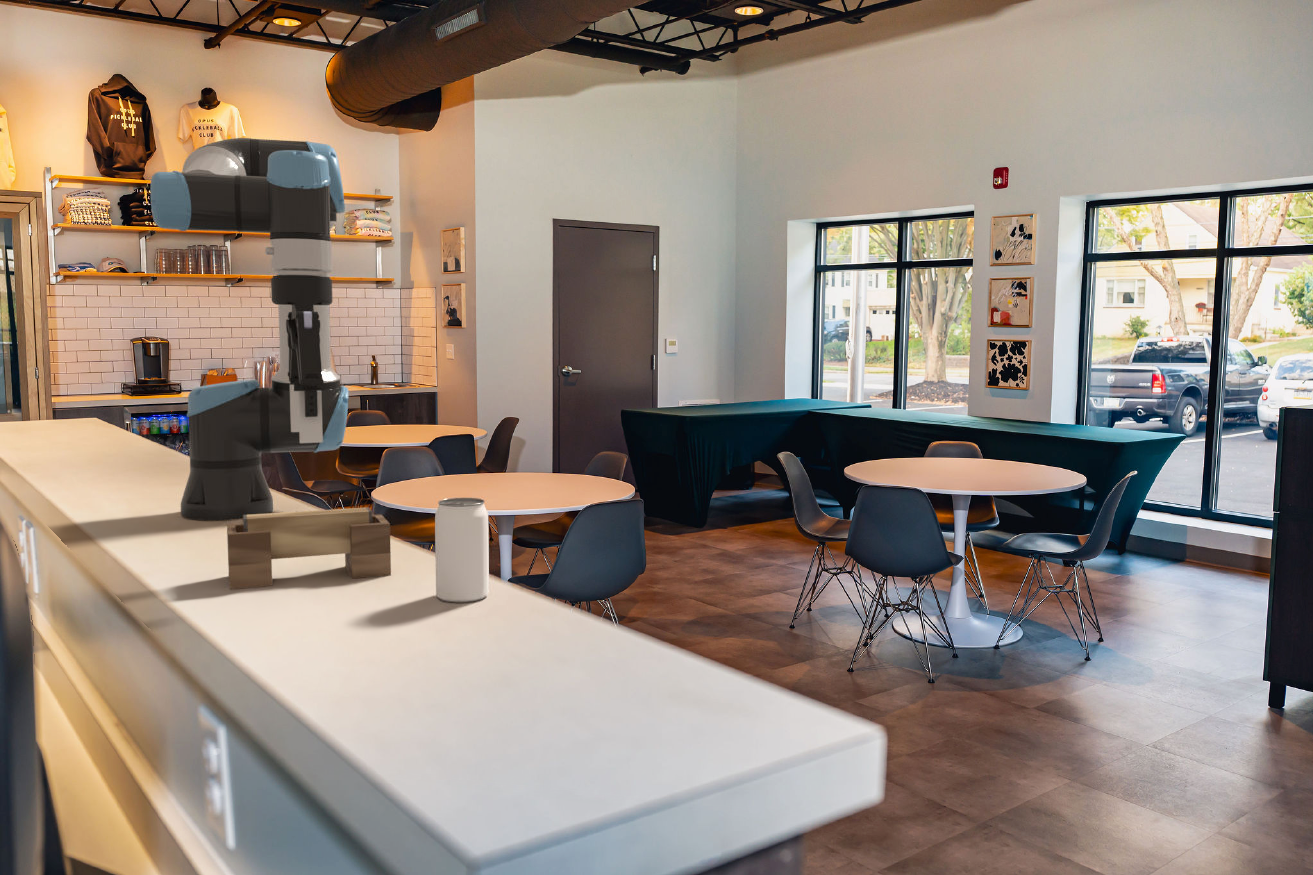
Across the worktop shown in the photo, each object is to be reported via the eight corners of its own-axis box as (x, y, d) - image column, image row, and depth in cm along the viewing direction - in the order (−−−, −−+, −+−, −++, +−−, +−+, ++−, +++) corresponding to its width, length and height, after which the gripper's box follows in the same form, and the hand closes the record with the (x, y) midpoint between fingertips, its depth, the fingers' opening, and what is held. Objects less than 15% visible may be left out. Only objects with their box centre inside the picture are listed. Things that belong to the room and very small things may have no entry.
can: (477, 605, 123) (476, 506, 122) (427, 601, 125) (425, 504, 123) (496, 591, 130) (495, 498, 128) (448, 588, 131) (447, 496, 130)
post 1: (228, 576, 136) (226, 524, 136) (268, 572, 138) (267, 521, 138) (230, 589, 130) (228, 534, 129) (272, 585, 132) (270, 531, 131)
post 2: (391, 574, 138) (389, 523, 137) (352, 578, 136) (351, 526, 135) (382, 563, 144) (381, 514, 144) (345, 566, 142) (344, 516, 142)
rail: (244, 556, 135) (243, 515, 134) (369, 546, 141) (368, 507, 141) (245, 561, 132) (244, 519, 131) (372, 551, 138) (371, 511, 138)
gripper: (265, 277, 143) (270, 428, 145) (277, 269, 120) (283, 448, 122) (321, 278, 146) (325, 426, 148) (343, 271, 123) (347, 446, 125)
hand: (306, 437), depth 135 cm, fingers open, 13 cm apart
